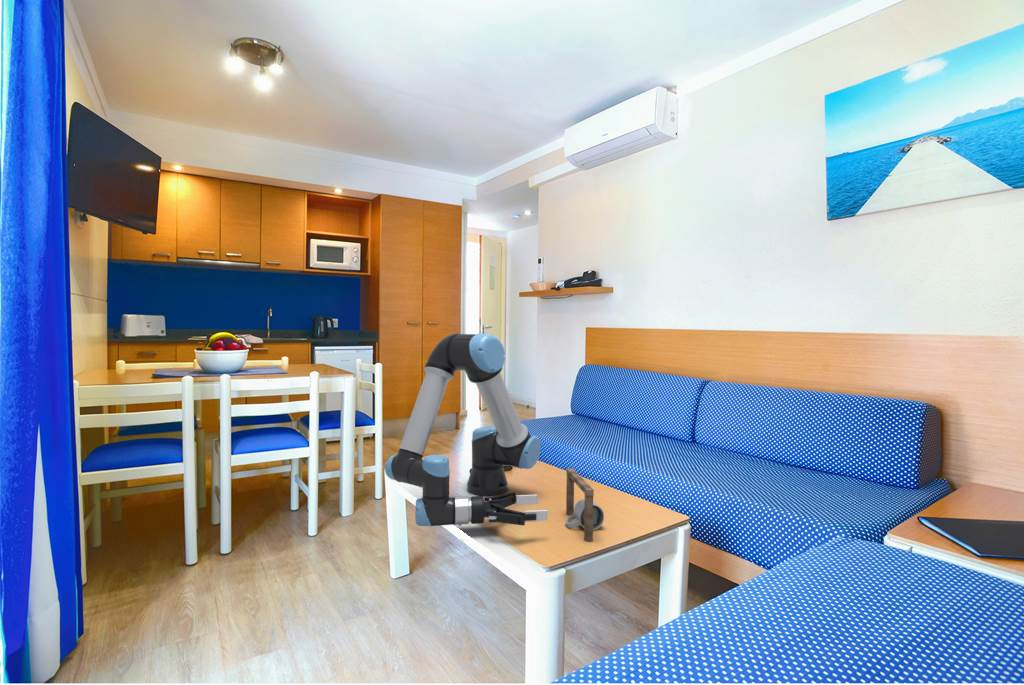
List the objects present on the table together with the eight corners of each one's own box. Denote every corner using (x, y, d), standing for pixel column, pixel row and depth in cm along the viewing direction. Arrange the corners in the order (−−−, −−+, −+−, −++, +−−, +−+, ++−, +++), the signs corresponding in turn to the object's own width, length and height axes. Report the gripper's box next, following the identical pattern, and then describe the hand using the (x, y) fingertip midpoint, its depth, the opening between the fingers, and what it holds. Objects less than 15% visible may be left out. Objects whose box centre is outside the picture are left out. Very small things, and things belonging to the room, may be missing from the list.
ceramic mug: (595, 519, 152) (594, 495, 152) (604, 530, 144) (604, 504, 144) (562, 522, 150) (561, 497, 150) (569, 532, 142) (569, 506, 142)
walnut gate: (565, 512, 157) (565, 468, 157) (572, 512, 158) (573, 468, 158) (585, 541, 135) (586, 490, 135) (593, 541, 136) (594, 489, 135)
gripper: (467, 508, 153) (533, 504, 156) (473, 541, 128) (551, 536, 132) (467, 484, 153) (533, 481, 156) (473, 512, 128) (552, 508, 132)
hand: (542, 506), depth 144 cm, fingers open, 13 cm apart
